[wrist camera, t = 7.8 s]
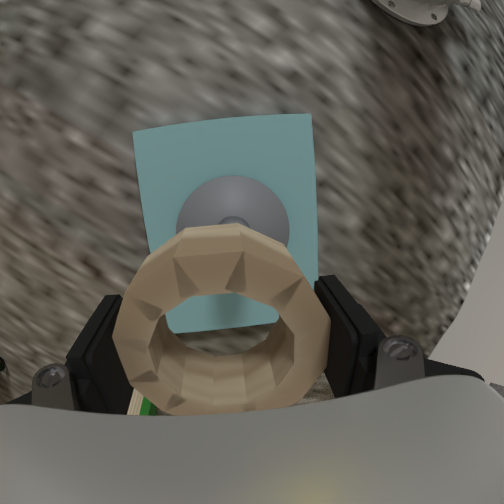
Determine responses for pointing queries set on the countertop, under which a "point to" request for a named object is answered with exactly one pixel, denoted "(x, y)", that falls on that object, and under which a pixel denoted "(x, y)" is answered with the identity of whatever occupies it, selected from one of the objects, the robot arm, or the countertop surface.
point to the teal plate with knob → (230, 198)
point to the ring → (225, 366)
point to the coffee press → (1, 365)
